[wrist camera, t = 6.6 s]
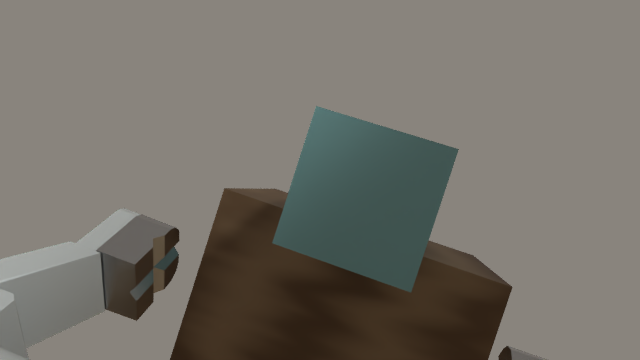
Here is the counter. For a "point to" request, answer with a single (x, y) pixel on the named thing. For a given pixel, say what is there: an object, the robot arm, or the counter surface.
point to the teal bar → (365, 197)
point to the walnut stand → (328, 299)
